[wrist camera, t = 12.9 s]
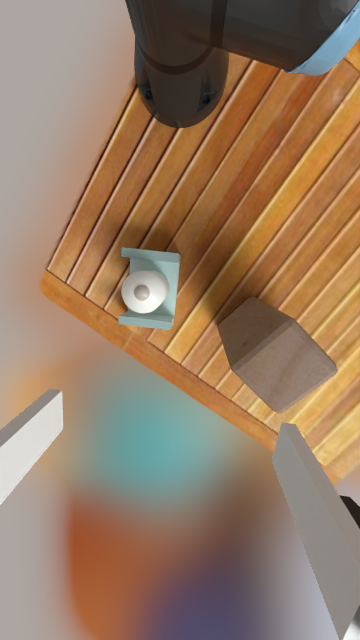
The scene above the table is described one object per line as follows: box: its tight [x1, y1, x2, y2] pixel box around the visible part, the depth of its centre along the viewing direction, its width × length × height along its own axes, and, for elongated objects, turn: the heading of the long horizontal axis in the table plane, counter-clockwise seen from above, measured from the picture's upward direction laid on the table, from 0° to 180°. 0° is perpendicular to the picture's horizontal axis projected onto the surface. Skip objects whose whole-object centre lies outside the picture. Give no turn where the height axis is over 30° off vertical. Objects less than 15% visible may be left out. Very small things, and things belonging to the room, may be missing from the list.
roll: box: [121, 270, 170, 313], centre depth 41 cm, size 7×7×9 cm
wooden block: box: [218, 296, 338, 413], centre depth 37 cm, size 10×10×20 cm
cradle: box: [119, 247, 181, 330], centre depth 43 cm, size 14×10×6 cm
